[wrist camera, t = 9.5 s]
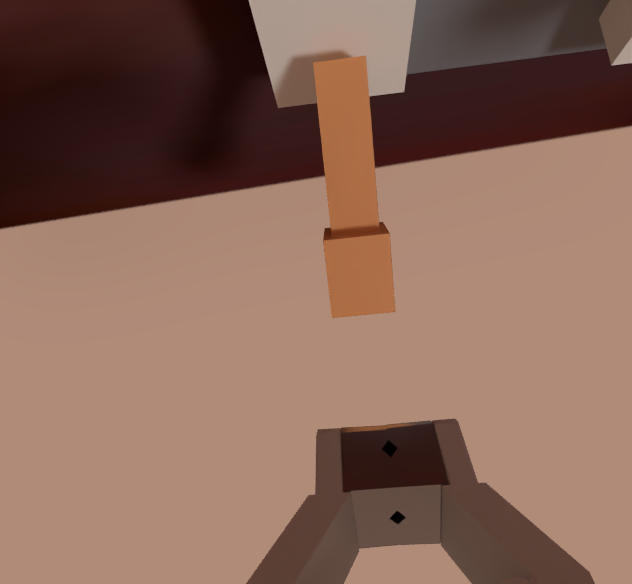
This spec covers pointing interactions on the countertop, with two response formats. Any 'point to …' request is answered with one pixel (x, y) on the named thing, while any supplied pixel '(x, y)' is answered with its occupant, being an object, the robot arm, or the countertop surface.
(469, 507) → the robot arm
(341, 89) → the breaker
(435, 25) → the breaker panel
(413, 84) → the countertop surface
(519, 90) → the countertop surface
